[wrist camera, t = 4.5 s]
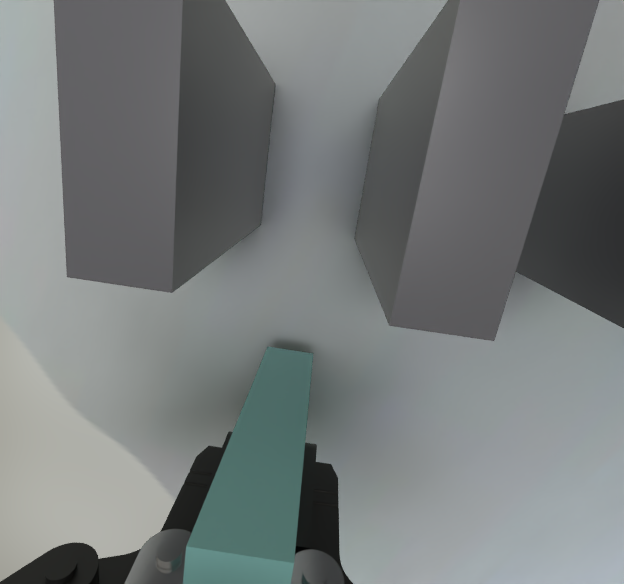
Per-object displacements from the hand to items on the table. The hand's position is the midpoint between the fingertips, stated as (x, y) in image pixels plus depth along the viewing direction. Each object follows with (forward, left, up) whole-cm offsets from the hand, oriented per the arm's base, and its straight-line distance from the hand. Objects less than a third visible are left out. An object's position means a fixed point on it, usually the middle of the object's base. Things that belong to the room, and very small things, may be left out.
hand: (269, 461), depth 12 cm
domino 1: (+3, -9, -5) cm, 11 cm away
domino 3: (-3, -9, -5) cm, 11 cm away
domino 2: (0, 0, -4) cm, 4 cm away
